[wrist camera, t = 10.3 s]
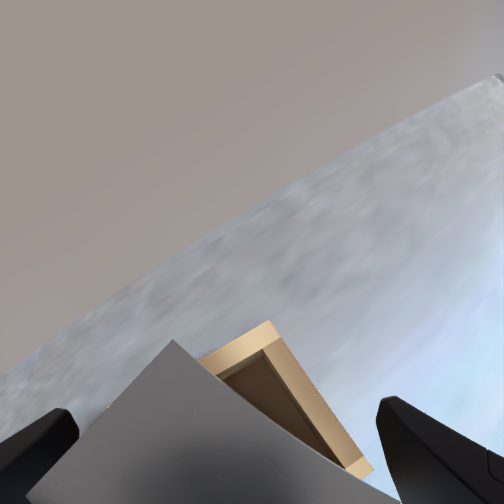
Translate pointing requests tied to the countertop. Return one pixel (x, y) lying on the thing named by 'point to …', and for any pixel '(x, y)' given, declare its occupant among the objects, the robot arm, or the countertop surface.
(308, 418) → the dock
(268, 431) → the post
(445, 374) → the countertop surface
